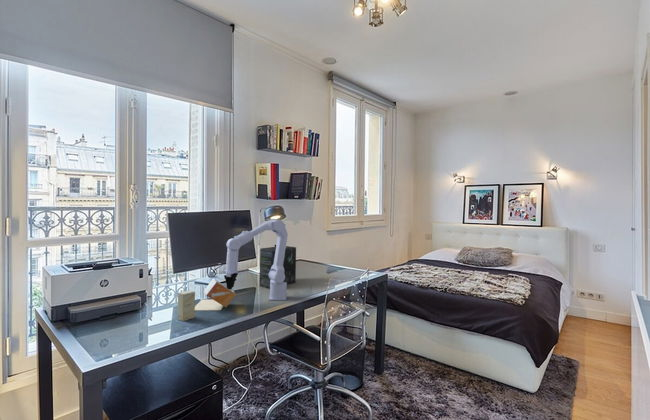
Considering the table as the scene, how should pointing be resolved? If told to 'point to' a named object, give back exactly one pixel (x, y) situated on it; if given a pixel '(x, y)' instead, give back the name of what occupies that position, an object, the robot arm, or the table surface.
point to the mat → (208, 305)
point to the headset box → (268, 260)
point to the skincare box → (186, 305)
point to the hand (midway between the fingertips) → (230, 288)
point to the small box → (219, 293)
